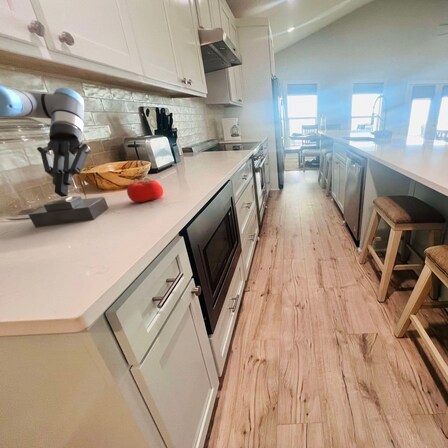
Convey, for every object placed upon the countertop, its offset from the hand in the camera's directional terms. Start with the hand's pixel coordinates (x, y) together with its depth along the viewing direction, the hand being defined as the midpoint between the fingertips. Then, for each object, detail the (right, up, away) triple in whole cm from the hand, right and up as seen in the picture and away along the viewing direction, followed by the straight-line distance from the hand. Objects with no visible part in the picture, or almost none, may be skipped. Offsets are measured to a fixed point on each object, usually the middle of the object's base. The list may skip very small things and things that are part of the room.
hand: (61, 194), depth 69 cm
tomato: (+14, 0, +18) cm, 23 cm away
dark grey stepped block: (0, -6, +5) cm, 8 cm away
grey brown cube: (0, -4, +1) cm, 4 cm away
